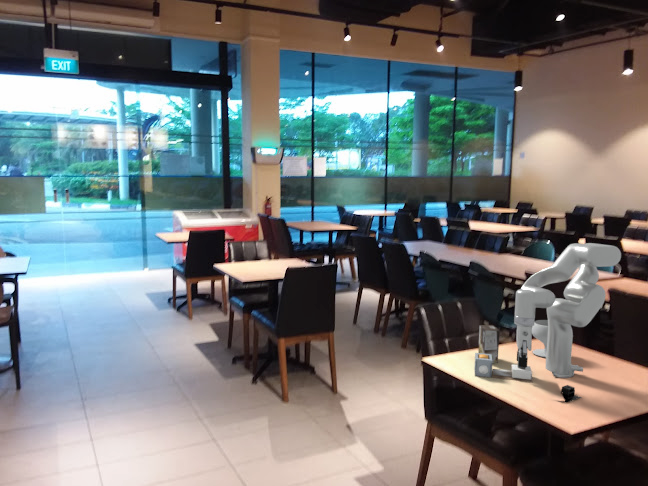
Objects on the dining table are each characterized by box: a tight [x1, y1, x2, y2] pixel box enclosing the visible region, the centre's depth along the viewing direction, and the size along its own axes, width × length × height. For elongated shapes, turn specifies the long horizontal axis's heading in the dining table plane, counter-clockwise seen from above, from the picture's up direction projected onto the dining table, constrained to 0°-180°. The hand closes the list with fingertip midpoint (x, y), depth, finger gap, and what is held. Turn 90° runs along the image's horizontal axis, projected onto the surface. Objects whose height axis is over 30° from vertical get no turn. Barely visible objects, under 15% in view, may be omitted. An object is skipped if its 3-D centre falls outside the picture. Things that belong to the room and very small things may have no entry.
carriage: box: [511, 350, 533, 380], centre depth 209 cm, size 7×6×11 cm
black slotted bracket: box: [560, 384, 582, 403], centre depth 193 cm, size 12×7×5 cm, turn 122°
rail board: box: [476, 368, 534, 383], centre depth 211 cm, size 22×9×4 cm, turn 75°
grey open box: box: [474, 352, 493, 378], centre depth 212 cm, size 6×8×7 cm
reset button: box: [479, 354, 488, 359], centre depth 212 cm, size 4×4×3 cm
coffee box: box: [478, 324, 500, 364], centre depth 229 cm, size 9×6×16 cm
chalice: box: [531, 319, 548, 359], centre depth 241 cm, size 14×14×15 cm
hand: (521, 363), depth 209 cm, fingers open, 6 cm apart
